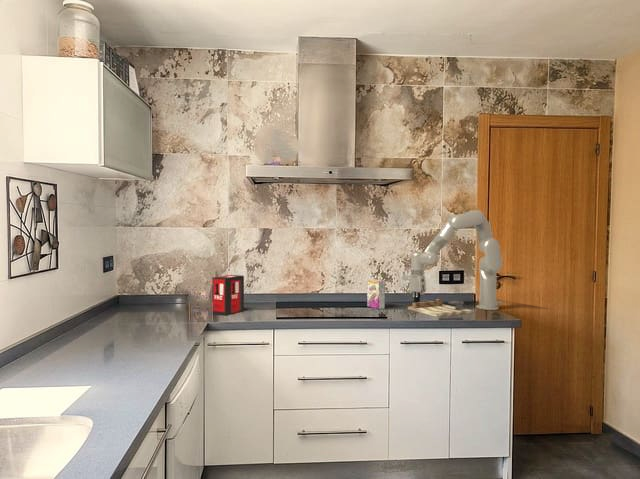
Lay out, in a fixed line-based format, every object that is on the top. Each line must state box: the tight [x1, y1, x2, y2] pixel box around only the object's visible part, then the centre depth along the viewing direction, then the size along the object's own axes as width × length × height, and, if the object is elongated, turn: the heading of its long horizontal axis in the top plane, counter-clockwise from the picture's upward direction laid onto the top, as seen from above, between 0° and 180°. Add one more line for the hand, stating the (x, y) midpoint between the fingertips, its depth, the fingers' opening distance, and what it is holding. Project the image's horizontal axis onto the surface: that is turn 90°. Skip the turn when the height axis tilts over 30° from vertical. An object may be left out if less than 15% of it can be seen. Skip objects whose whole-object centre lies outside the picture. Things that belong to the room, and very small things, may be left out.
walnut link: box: [411, 298, 443, 308], centre depth 290 cm, size 20×5×4 cm, turn 118°
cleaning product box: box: [211, 274, 245, 317], centre depth 271 cm, size 16×9×20 cm, turn 154°
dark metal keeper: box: [447, 300, 465, 310], centre depth 280 cm, size 9×4×4 cm, turn 118°
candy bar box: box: [366, 278, 386, 310], centre depth 293 cm, size 11×5×16 cm, turn 34°
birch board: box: [407, 303, 473, 317], centre depth 284 cm, size 26×25×2 cm
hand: (416, 303), depth 294 cm, fingers closed
